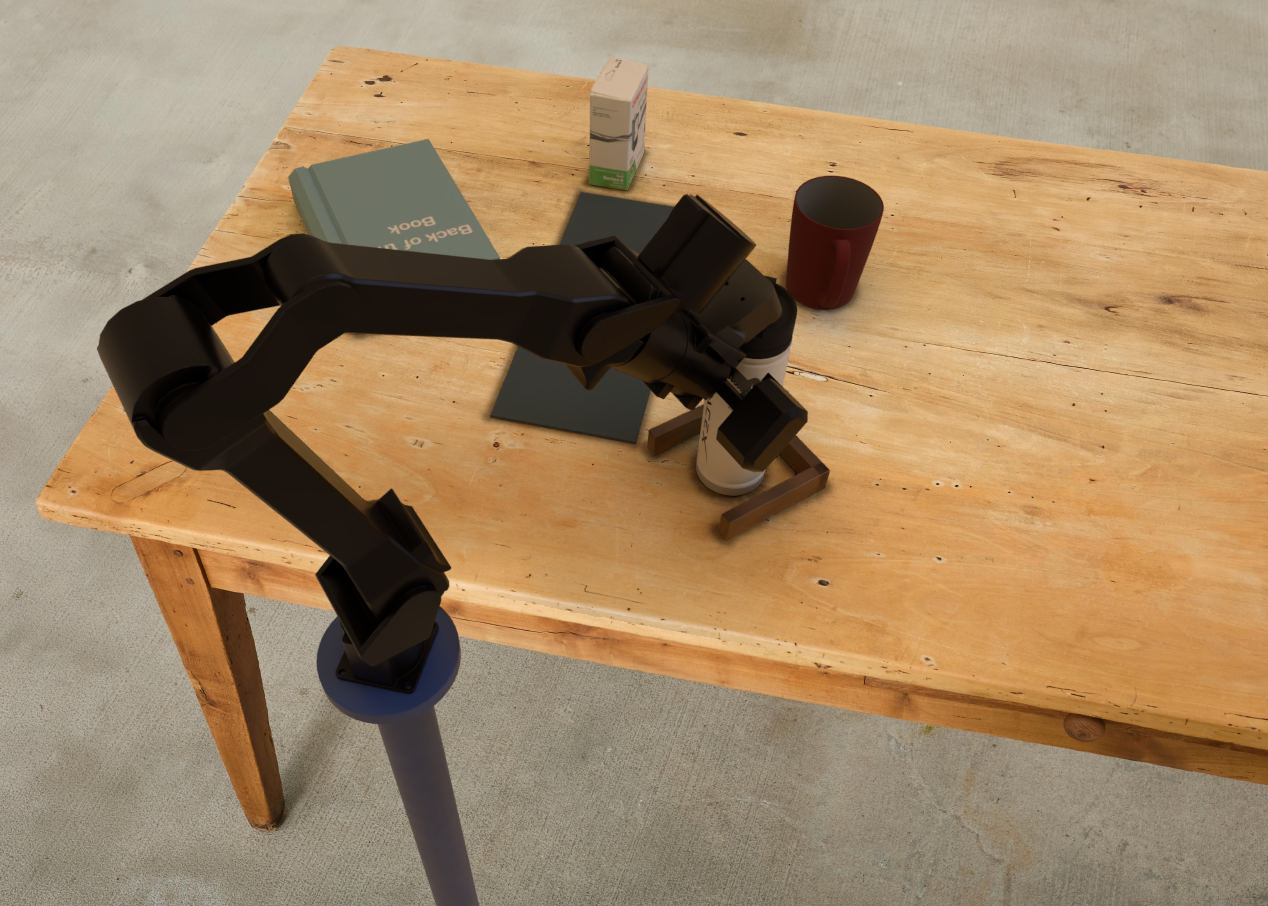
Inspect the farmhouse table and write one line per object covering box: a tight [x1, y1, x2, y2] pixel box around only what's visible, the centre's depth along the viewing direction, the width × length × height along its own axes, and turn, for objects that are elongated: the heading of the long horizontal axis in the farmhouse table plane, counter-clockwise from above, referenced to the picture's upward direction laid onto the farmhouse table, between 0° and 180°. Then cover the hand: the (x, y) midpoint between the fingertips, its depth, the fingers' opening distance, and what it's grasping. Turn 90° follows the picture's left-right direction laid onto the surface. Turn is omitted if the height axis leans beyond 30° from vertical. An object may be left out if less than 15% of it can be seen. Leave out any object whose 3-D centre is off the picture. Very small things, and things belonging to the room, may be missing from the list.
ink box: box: [588, 57, 650, 191], centre depth 121 cm, size 9×5×12 cm, turn 166°
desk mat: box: [489, 191, 674, 445], centre depth 110 cm, size 36×14×1 cm, turn 168°
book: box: [287, 138, 501, 260], centre depth 113 cm, size 23×16×5 cm
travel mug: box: [695, 274, 798, 496], centre depth 89 cm, size 6×7×20 cm
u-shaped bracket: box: [646, 403, 831, 541], centre depth 96 cm, size 11×12×2 cm
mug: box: [785, 175, 885, 310], centre depth 108 cm, size 12×9×11 cm
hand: (755, 390), depth 90 cm, fingers closed on travel mug, 6 cm apart
